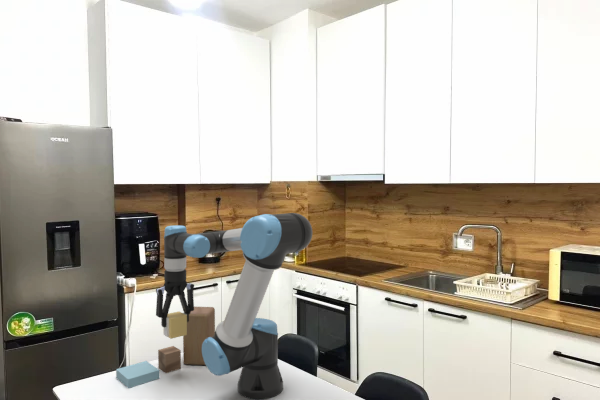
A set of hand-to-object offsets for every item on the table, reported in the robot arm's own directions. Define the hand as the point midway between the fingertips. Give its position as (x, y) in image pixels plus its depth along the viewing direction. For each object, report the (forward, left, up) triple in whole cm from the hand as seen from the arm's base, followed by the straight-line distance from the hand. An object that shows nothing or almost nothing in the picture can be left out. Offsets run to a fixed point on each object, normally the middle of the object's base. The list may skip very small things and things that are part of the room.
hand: (175, 333), depth 155 cm
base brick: (+8, +11, -15) cm, 20 cm away
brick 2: (+7, -1, -15) cm, 17 cm away
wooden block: (+7, -13, -16) cm, 22 cm away
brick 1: (0, 0, 0) cm, 1 cm away
